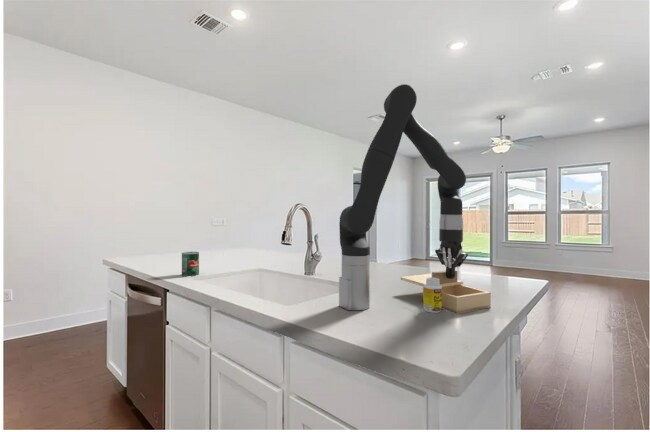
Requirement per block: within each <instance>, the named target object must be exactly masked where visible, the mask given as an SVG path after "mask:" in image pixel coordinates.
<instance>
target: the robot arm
mask: <svg viewBox="0 0 650 432" xmlns="http://www.w3.org/2000/svg"><path fill="white" fill-rule="evenodd" d="M416 105H417V93H416V90H415V89H414V88H413V86H412V85H409V84H406V83H405V84H404V83H403V84H400V85H397V86H396V87H394V88H393V89H392V90H391V91H390V93H388V95H387V96H386V98H385V99H384V102H383V111H384V112H385V115H384V118H383V121H382V123H381V125H380V127H379V129H378V130H377V132H376V134H375V135H374V137H373V139H372V141H371V142H370V143H369V144H370V145H369V147H368V149H367V152H366V154H365V157H364V160H363V162H362V163H363V164H362V165H361V167H362V168H361V175H360V183H359V189H358V192H357V194H356V197H355V199H354V201H353V203H352V205H350V206H347V207H345V208H344V209H343V210H342V211H341V213H340V216H339V222H338V223H339V225H338V226H339V245H340V249H341V276H339V277H338V297H339V298H338V305H339V306H340V307H341V308H343V309H345V310H346V311H364V310H368V309H369V308H370V304H371V303H370V302H371V301H370V300H371V299H370V298H371V297H370V293H371V292H370V289H371V288H370V286H371V285H370V278H371V276H370V275H371V274H370V273H371V272H370V269H371V268H370V267H371V266H370V265H371V264H370V263H371V262H370V260H371V258H370V256H371V253H370V252H371V250H370V249H371V248H370V245H369V243H368V240H367V232H368V231H370V229H371V228H372V226H373V224H374V221H375V216H376V212H377V209H378V206H379V205H378V204H379V202H380V198H381V195H382V192H383V191H384V188H385V184H386V183H387V179H388V178H389V177H388V176H389V174H390V172H391V170H392V167H393V165H394V161H395V158H396V156H397V151H398V149H399V146H400V143H401V140H402V136H403V134H405V136H406V137H407V138H408V139H409V141H410V142H411V143H412V145H414V147H415V148H416V150H417V151H418V153H419V154H420V155H421V157H422V158H423V159H424V161H425V162H426V164H427V165H428V167H429V168H430V169H431V170H434V171H436V172H437V173H438V174H439V176H438V179H437V190H438V196H439V197H438V198H439V202H440V207H439V208H440V211H439V212H440V213H439V214H440V215H439V228H438V229H439V234H438V235H439V242H440V245H439V248H438V249H434V252H435V254H436V256H437V258H438V259H439V262H440V263H441V265H443V266H444V267H445V271H446V277H447V278H448V279H454V277H455V270H456V268H458V267H461V266H462V264H463V263H464V262H465V260H466V259H467V258H468V255H469V254H468V253H467V252H464V250H463V245H462V243H463V241H464V238H463V237H464V221H463V220H464V218H463V201H462V199H461V198H460V197H459V193H458V190H460V189H462V188H463V187H465V184H466V181H467V176H466V174H465V172H464V170H463V168H462V167H461V166H460V165H459V164H458V163H457V162H456V161H455V160H454V159H452V157H450V156H449V154H448V153H447V152H446V149H444V146H443V145H442V144H441V143H440V141H439V140H438V138H437V137H435V135H433V134H432V133H431V132H430V131H428V130H427V129H425V128H424V127H423V126H422V125H421V124H420V123H419V122H418V121H417V119H416V118H415V116H414V114H413V111H414V109H415V107H416Z"/></svg>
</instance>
